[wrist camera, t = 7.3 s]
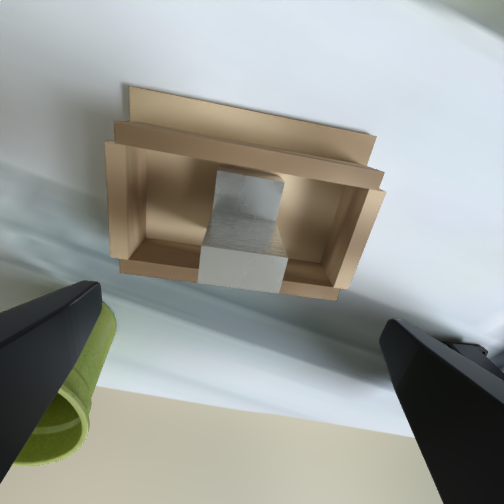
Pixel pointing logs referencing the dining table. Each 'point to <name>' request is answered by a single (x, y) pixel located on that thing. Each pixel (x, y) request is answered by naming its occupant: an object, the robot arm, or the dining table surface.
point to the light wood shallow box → (245, 158)
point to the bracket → (244, 233)
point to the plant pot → (71, 402)
